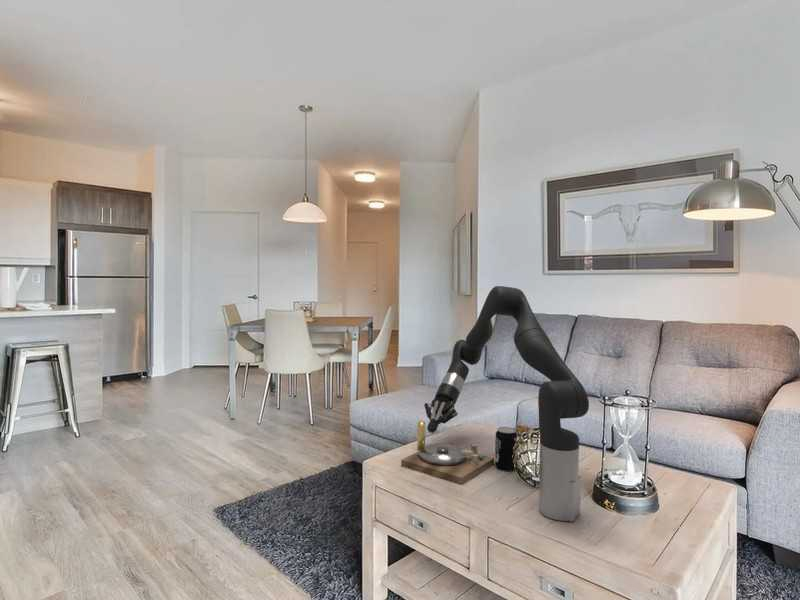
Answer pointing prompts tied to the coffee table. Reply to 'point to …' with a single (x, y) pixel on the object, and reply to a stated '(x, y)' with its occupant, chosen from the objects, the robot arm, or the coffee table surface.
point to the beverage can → (505, 448)
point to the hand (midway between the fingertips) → (430, 431)
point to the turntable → (452, 466)
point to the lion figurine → (521, 429)
